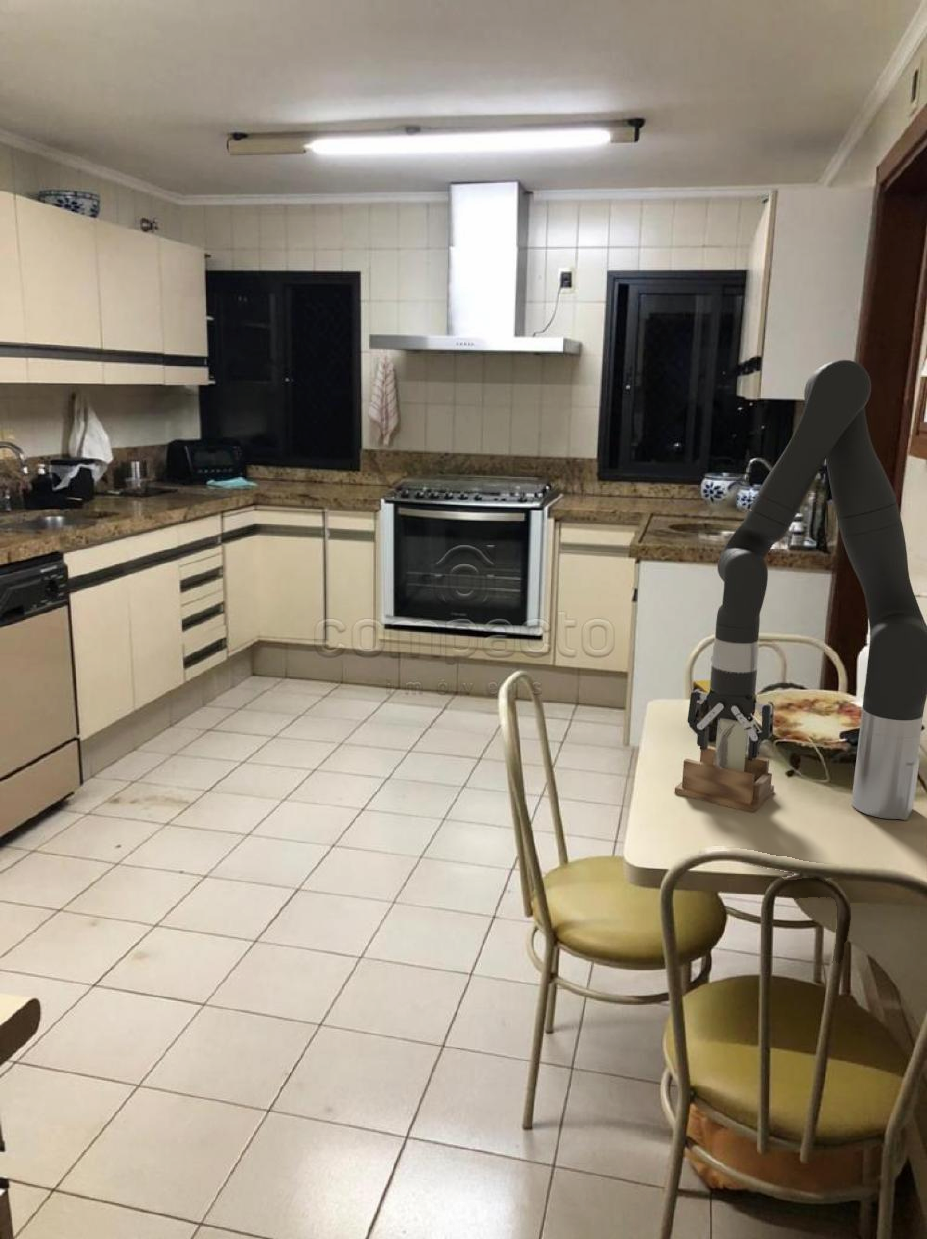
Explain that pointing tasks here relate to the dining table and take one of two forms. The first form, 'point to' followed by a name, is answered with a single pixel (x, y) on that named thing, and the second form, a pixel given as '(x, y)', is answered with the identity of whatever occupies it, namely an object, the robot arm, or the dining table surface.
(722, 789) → the rack
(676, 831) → the dining table surface
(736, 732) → the box
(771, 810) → the dining table surface
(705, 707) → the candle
